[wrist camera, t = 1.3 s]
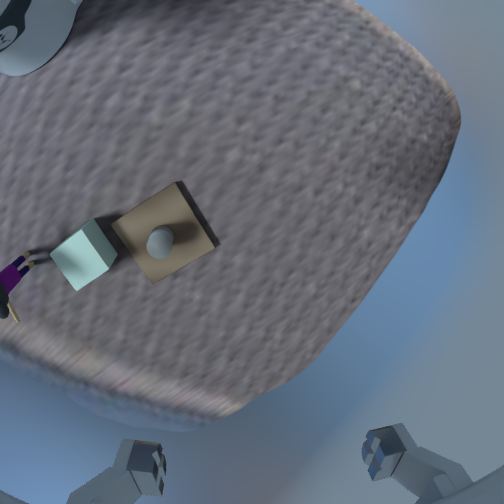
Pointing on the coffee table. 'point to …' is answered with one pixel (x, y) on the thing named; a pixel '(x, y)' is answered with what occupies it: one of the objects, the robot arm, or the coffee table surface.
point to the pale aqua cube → (84, 255)
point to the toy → (12, 283)
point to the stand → (163, 233)
